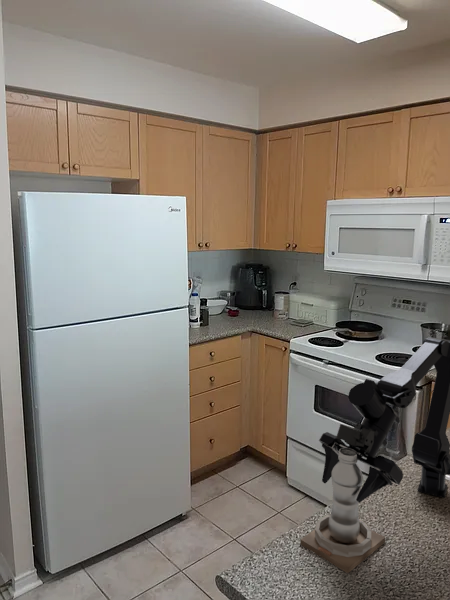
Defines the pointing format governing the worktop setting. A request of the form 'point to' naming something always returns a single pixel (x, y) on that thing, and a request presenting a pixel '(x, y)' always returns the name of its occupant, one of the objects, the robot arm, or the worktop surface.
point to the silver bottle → (345, 497)
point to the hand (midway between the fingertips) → (340, 491)
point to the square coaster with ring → (342, 545)
